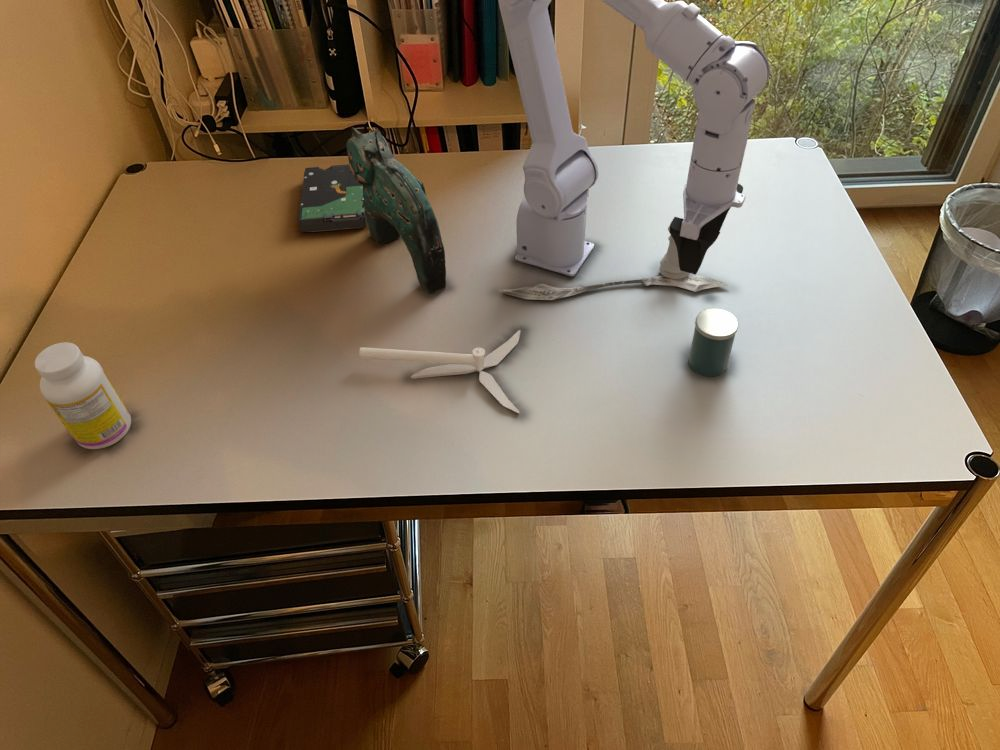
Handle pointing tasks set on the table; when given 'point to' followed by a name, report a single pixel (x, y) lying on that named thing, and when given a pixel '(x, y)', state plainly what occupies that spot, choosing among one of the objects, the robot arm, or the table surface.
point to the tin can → (712, 341)
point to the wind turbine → (453, 363)
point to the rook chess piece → (671, 262)
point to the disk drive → (331, 200)
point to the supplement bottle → (82, 396)
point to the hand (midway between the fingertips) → (698, 253)
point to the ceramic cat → (397, 206)
